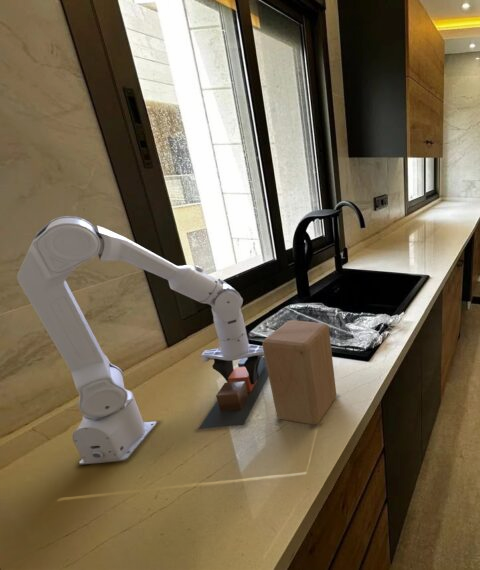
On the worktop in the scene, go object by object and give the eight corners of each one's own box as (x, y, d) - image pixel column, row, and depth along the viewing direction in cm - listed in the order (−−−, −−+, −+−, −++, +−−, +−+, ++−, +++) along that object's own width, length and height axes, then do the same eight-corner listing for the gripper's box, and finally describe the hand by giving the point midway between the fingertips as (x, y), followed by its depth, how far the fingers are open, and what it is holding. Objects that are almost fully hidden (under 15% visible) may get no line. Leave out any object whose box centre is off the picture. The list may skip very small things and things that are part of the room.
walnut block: (241, 409, 73) (237, 393, 72) (220, 411, 73) (215, 395, 71) (248, 396, 78) (244, 381, 76) (228, 397, 77) (224, 382, 75)
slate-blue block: (259, 377, 84) (256, 362, 83) (241, 378, 84) (237, 363, 82) (264, 367, 88) (261, 353, 87) (247, 368, 88) (244, 354, 86)
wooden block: (317, 427, 69) (305, 346, 62) (275, 420, 71) (259, 340, 64) (338, 396, 78) (330, 322, 71) (300, 390, 80) (288, 317, 73)
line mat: (243, 425, 69) (243, 424, 69) (198, 429, 68) (198, 428, 68) (279, 357, 93) (278, 356, 93) (245, 359, 92) (245, 358, 92)
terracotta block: (250, 392, 79) (247, 377, 77) (231, 393, 78) (227, 378, 77) (257, 380, 83) (253, 366, 81) (238, 381, 83) (235, 367, 81)
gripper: (270, 324, 80) (279, 370, 85) (207, 327, 78) (219, 374, 83) (260, 339, 73) (270, 388, 78) (191, 343, 72) (205, 393, 77)
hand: (243, 382), depth 80 cm, fingers closed on terracotta block, 4 cm apart
